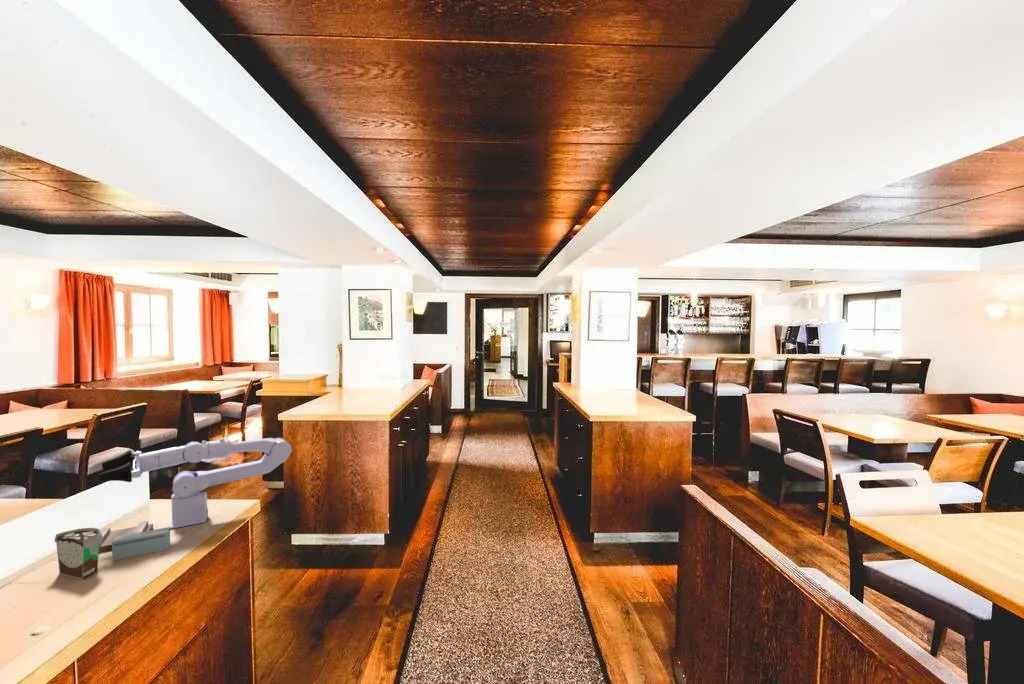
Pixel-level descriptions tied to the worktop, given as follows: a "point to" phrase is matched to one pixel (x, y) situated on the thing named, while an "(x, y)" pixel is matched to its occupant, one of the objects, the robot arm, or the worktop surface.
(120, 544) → the glasses case
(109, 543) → the display stand
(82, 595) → the worktop surface
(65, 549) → the food container
